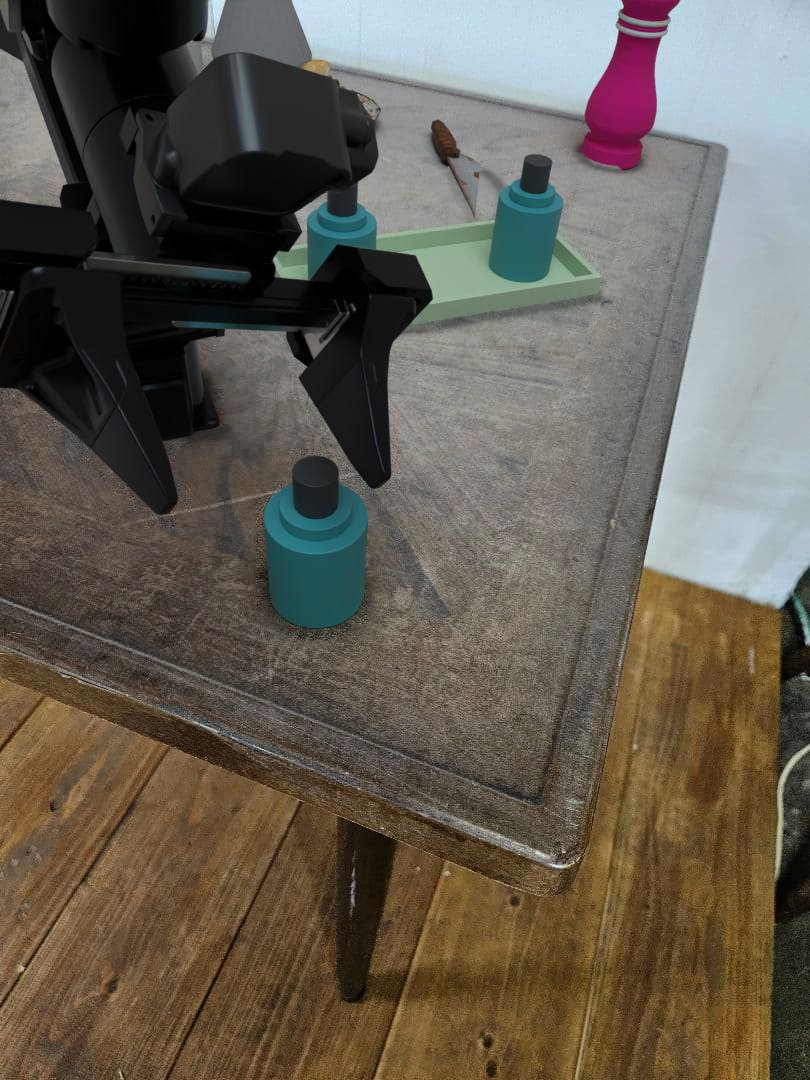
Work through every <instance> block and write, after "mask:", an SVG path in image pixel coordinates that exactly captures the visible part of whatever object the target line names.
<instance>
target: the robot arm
mask: <svg viewBox="0 0 810 1080" xmlns="http://www.w3.org/2000/svg"><path fill="white" fill-rule="evenodd" d="M209 2H210V0H0V50H1V51H2V52H5V53H7V54H8V55H10V56H12V57H14V58H15V59H17V60H19V61H20V62H22V63H23V65H24V68H25V72H26V74H27V77H28V80H29V81H30V85H31V87H32V91H33V93H34V95H35V98H36V102H37V104H38V108H39V110H40V112H41V115H42V118H43V121H44V124H45V126H46V128H47V132H48V134H49V137H50V140H51V144H52V146H53V149H54V151H55V154H56V157H57V159H58V162H59V165H60V168H61V171H62V173H63V177H64V178H65V181H66V184H62V186H61V189H60V193H59V204H60V206H55V205H49V204H48V205H47V204H40V203H32V202H25V201H17V200H10V199H2V198H0V389H13V390H18V391H19V392H21V393H22V394H24V396H26V397H27V398H29V400H31V401H33V403H35V404H36V405H37V406H39V408H41V409H42V410H43V411H45V412H46V413H48V415H50V417H52V418H53V419H55V420H56V421H58V423H60V424H61V425H62V426H63V427H65V428H66V429H67V430H69V431H70V433H72V434H73V435H75V436H76V437H77V438H78V439H79V440H80V441H81V442H82V443H83V444H84V445H85V446H86V447H87V448H88V449H89V450H91V452H93V454H94V455H96V457H97V458H99V459H100V460H101V461H102V462H103V463H104V464H105V465H106V466H107V467H108V468H109V469H110V470H111V471H112V472H113V473H114V474H115V475H116V476H117V477H118V478H119V479H120V480H121V481H122V482H123V483H124V484H125V485H126V486H127V487H128V488H129V489H130V490H131V491H132V492H133V493H134V494H135V495H136V496H137V497H138V498H139V499H140V500H141V501H142V502H143V503H144V504H145V505H146V506H147V507H148V508H149V509H150V510H151V511H152V512H153V513H154V514H156V515H158V516H160V515H161V516H162V515H163V516H164V515H169V514H170V513H171V512H172V511H173V510H174V509H175V507H176V506H177V504H178V502H179V494H178V489H177V486H176V482H175V478H174V474H173V469H172V466H171V461H170V458H169V455H168V452H167V449H166V446H165V443H164V442H163V440H164V439H168V438H174V437H178V436H184V435H189V434H192V433H194V432H200V431H205V430H210V429H215V428H218V427H219V426H220V425H221V420H220V417H219V414H218V412H217V409H216V406H215V404H214V402H213V399H212V396H211V393H210V391H209V389H208V386H207V383H206V380H205V377H204V376H203V373H202V367H201V360H200V352H199V344H198V341H200V340H204V339H205V340H206V339H209V338H223V337H225V336H226V330H239V331H244V330H245V331H262V332H263V331H264V332H284V333H285V339H286V341H287V343H288V346H289V349H290V351H291V354H292V356H293V358H295V359H296V360H297V361H299V362H300V363H302V364H303V365H304V366H305V367H306V368H305V369H304V370H303V371H302V373H300V374H299V376H298V381H299V382H300V384H301V385H302V387H303V389H304V391H305V392H306V393H307V395H308V397H309V398H310V400H311V402H312V403H313V405H314V407H315V408H316V409H317V411H318V413H319V414H320V416H321V417H322V420H324V423H325V424H326V425H327V427H328V429H329V431H330V432H331V434H332V435H333V437H334V438H335V440H336V442H337V444H338V445H339V446H340V448H341V450H342V452H343V454H344V455H345V456H346V458H347V460H348V461H349V463H350V464H351V466H352V467H353V468H354V470H355V472H357V474H358V475H359V476H360V478H361V479H362V480H363V481H364V483H365V484H366V485H367V486H368V488H369V489H371V490H378V489H380V488H381V487H383V486H384V485H385V484H386V483H388V482H389V481H390V479H391V478H392V454H391V453H392V452H391V450H392V449H391V431H390V406H389V367H390V355H391V351H392V346H393V344H394V342H395V341H396V340H397V339H398V338H399V337H400V336H401V335H402V334H403V333H404V331H405V330H406V329H407V328H408V327H410V324H411V323H412V321H413V320H414V319H415V318H416V317H417V316H418V315H419V314H420V313H421V312H422V311H423V310H424V309H425V307H426V306H427V305H428V304H429V303H430V302H431V301H432V300H433V294H432V290H431V287H430V285H429V283H428V281H427V279H426V277H425V274H424V272H423V270H422V268H421V266H420V263H419V261H418V259H417V257H416V255H411V254H405V253H398V252H391V251H384V250H377V249H369V248H362V247H354V246H347V245H339V244H337V245H336V246H335V248H334V249H333V250H332V252H331V253H330V254H329V256H328V257H327V258H326V260H325V261H324V262H323V263H322V265H321V266H320V267H319V269H318V270H317V271H316V273H315V274H314V275H313V277H312V278H311V279H310V280H301V279H290V278H280V277H275V273H276V266H275V263H274V261H273V258H274V257H275V255H276V254H277V253H278V251H280V252H289V251H290V249H291V248H292V246H294V245H296V242H297V241H298V240H299V238H300V236H301V235H302V234H303V230H302V227H301V225H300V223H299V219H298V218H297V216H296V213H297V212H299V211H301V210H302V209H303V208H305V207H307V205H310V204H311V203H313V201H315V200H317V199H318V198H319V197H321V196H322V195H324V194H326V193H327V191H331V192H336V193H342V192H344V191H345V190H347V189H348V188H350V187H351V186H353V185H354V184H356V183H357V182H358V183H359V182H360V181H362V180H363V179H365V178H366V177H369V176H370V175H371V174H372V173H373V172H374V170H375V168H376V166H377V164H378V160H379V147H378V146H379V145H378V141H377V134H376V133H377V132H376V128H375V126H376V125H375V120H374V121H373V119H372V118H371V117H370V115H369V113H368V112H367V110H366V109H365V107H364V105H363V104H362V102H361V101H360V99H359V97H358V95H357V93H355V92H354V91H355V90H354V91H351V90H352V89H348V88H346V89H344V88H341V87H338V85H337V83H336V82H335V81H334V80H333V79H332V78H333V77H332V78H330V77H328V76H329V75H328V76H325V75H322V74H318V73H315V72H312V71H308V70H305V69H302V68H299V67H295V66H292V65H289V64H285V63H282V62H279V61H275V60H272V59H269V58H265V57H262V56H259V55H255V54H252V53H246V52H233V53H228V54H224V55H221V56H219V57H217V58H215V59H214V60H213V59H212V60H211V61H210V62H209V63H208V64H207V65H206V66H205V67H203V71H202V72H201V73H200V74H198V72H197V69H196V67H195V64H194V62H193V60H192V57H191V55H190V52H189V50H188V47H187V45H186V44H187V43H189V42H191V41H195V42H199V41H203V40H204V39H205V37H206V35H207V31H208V24H209V7H210V6H209V5H210V4H209ZM411 325H412V324H411ZM210 422H214V423H210Z"/></svg>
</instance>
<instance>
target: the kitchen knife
mask: <svg viewBox="0 0 810 1080" xmlns="http://www.w3.org/2000/svg"><path fill="white" fill-rule="evenodd" d="M430 130H431V135H432V139H433V142H434V145H435V148H436V151H438V153H439V154H440V155H439V157H440V159H441V161H444V162H446V163H447V164H448V165H449V167H450V169H451V172H452V173H453V176H455V177H454V178H455V179H456V181H457V184H458V187H459V188H460V190H461V192H462V194H463V196H464V198H465V200H466V202H467V205H468V206H469V208H470V210H471V213H472V216H473V218H474V219H476V215H477V213H476V212H477V203H478V202H477V201H478V190H479V183H480V182H479V181H480V171H481V163H479V162H478V161H477V160H475V159H474V158H471V157H470V156H468V155H465V154H463V153H461V149H460V148H458V147H457V141H456V139H455V137H454V136H453V134H452V132H451V130H450V129H449V128H448V126H446V124H445V122H443V121H442V120H441V119H435V120H433V121H432V122H431V124H430Z"/></svg>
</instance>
